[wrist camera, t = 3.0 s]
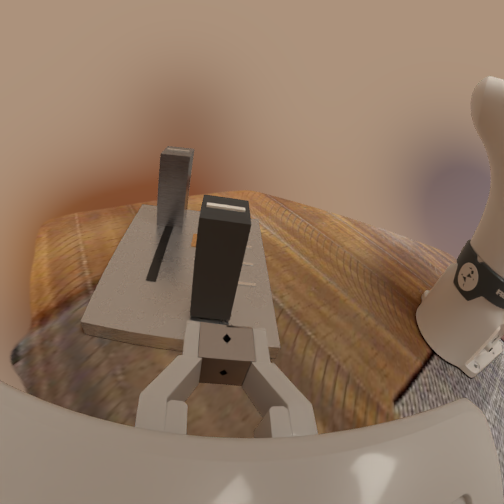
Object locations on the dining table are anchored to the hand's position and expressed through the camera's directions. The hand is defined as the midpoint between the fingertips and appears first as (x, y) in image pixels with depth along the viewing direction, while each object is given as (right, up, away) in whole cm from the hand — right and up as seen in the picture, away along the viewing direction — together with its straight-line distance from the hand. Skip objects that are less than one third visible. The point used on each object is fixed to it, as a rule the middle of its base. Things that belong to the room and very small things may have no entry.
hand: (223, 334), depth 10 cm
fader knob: (-3, -2, +18) cm, 19 cm away
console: (-7, +2, +27) cm, 28 cm away
